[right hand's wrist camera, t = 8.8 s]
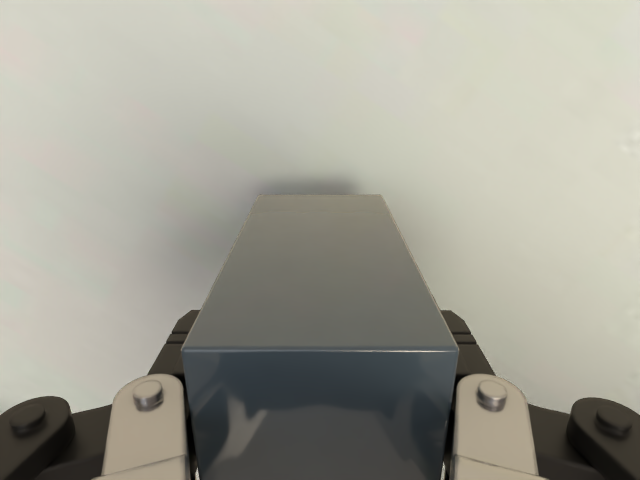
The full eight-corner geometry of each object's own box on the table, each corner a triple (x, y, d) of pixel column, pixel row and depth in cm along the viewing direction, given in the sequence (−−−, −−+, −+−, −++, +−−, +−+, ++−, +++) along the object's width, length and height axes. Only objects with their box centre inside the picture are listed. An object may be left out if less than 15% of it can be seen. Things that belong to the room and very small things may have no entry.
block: (376, 306, 18) (433, 544, 9) (263, 306, 18) (206, 544, 9) (382, 194, 16) (461, 348, 7) (258, 194, 16) (178, 348, 7)
